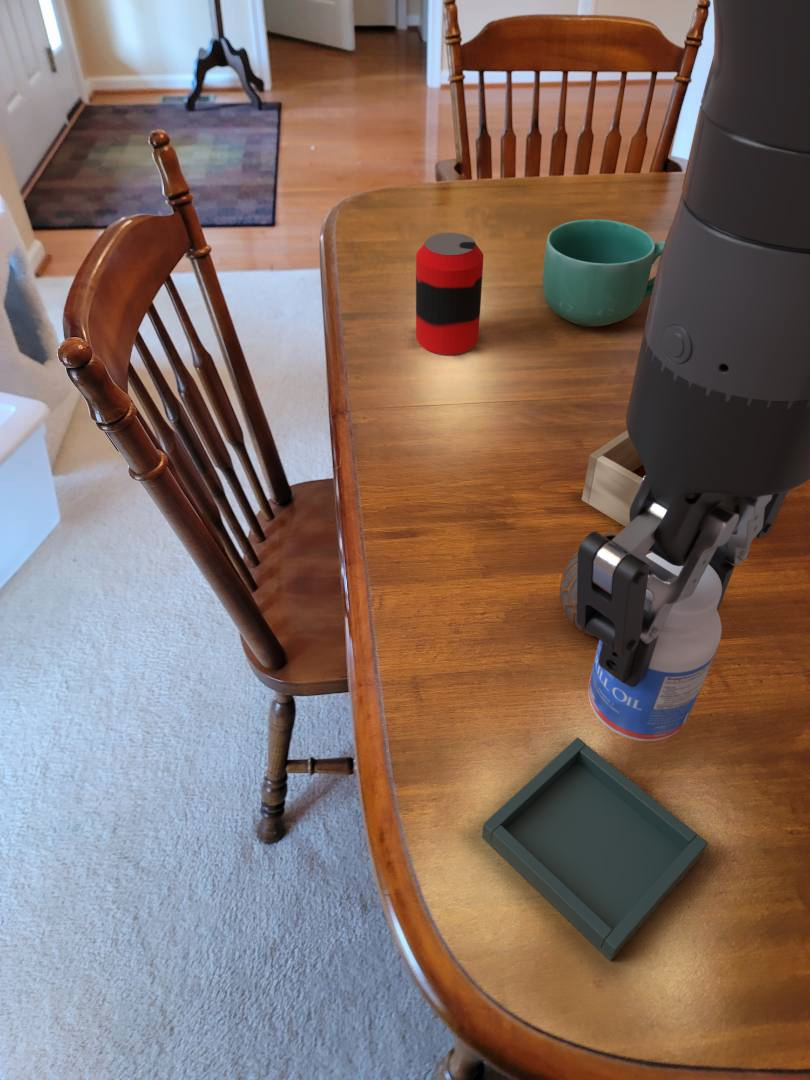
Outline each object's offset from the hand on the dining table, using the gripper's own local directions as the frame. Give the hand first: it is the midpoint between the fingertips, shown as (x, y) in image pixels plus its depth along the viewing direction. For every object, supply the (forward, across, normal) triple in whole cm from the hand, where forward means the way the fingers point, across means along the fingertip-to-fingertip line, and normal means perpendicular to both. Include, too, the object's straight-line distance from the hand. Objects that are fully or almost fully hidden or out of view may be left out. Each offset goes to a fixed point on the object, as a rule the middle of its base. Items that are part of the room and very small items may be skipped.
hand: (658, 638), depth 41 cm
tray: (+20, -1, 0) cm, 20 cm away
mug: (+20, +56, +43) cm, 73 cm away
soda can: (+20, +37, +52) cm, 67 cm away
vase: (+21, +15, +12) cm, 28 cm away
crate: (+20, +31, +17) cm, 41 cm away
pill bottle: (+6, 0, 0) cm, 6 cm away
